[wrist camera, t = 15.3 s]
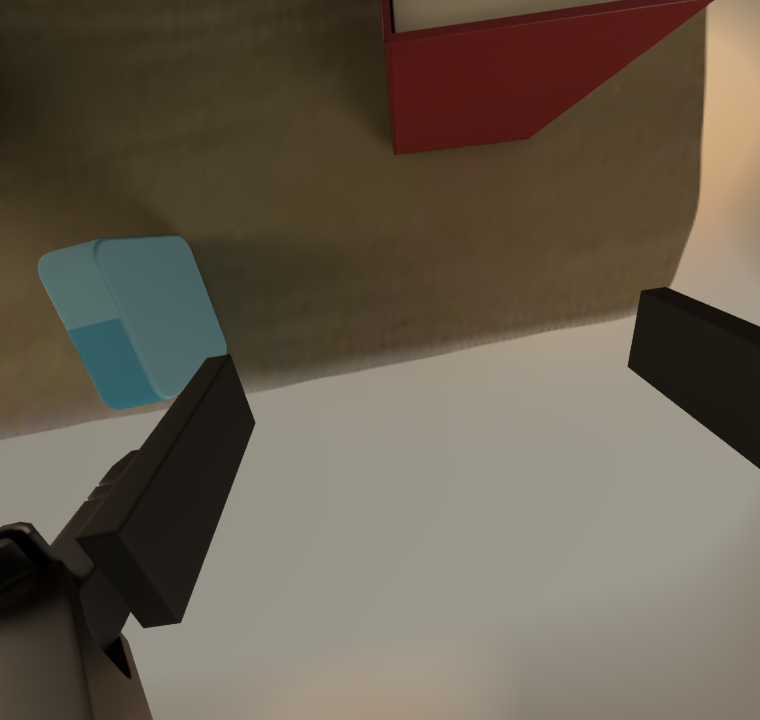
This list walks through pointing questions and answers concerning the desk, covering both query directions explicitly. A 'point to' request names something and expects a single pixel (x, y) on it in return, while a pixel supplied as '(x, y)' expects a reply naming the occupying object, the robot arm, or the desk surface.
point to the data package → (134, 314)
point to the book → (507, 62)
